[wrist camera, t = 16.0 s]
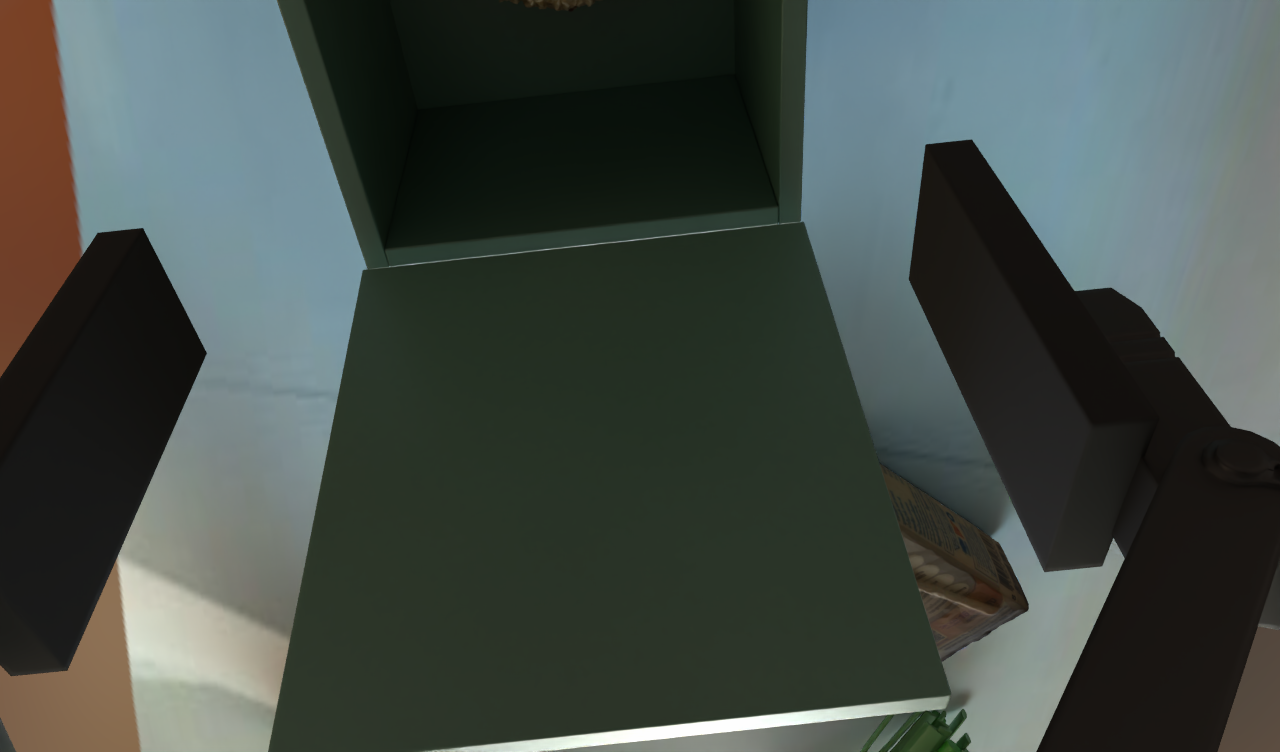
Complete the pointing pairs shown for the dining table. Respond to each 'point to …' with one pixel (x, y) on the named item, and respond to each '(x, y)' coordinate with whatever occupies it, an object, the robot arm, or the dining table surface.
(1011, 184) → the dining table surface
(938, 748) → the daffodil flowers
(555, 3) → the cake
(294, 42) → the bin
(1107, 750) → the robot arm
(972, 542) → the beverage carton
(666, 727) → the bin lid
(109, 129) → the dining table surface
